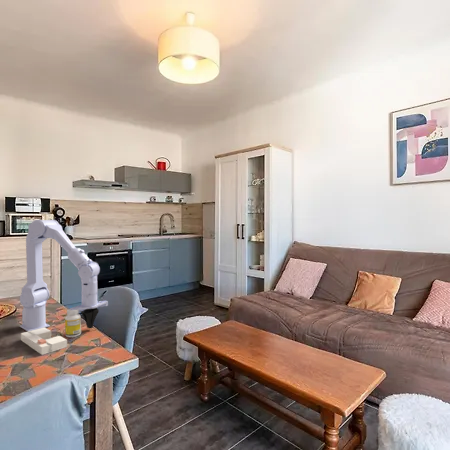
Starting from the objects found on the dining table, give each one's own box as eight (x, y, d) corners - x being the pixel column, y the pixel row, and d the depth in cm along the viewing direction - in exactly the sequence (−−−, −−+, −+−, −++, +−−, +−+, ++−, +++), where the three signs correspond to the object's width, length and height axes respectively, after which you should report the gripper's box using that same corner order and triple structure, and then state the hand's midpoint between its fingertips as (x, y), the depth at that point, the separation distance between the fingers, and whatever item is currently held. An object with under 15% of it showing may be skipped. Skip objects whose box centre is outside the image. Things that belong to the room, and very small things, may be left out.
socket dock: (20, 340, 113) (20, 331, 113) (44, 333, 120) (44, 325, 119) (41, 354, 101) (41, 344, 101) (67, 346, 108) (67, 337, 107)
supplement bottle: (68, 332, 121) (68, 307, 121) (83, 332, 122) (83, 307, 121) (62, 337, 116) (62, 311, 115) (77, 337, 116) (77, 311, 116)
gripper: (75, 298, 115) (76, 335, 115) (111, 291, 126) (112, 324, 127) (67, 295, 120) (67, 330, 120) (102, 289, 131) (102, 321, 131)
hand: (89, 327), depth 124 cm, fingers closed
